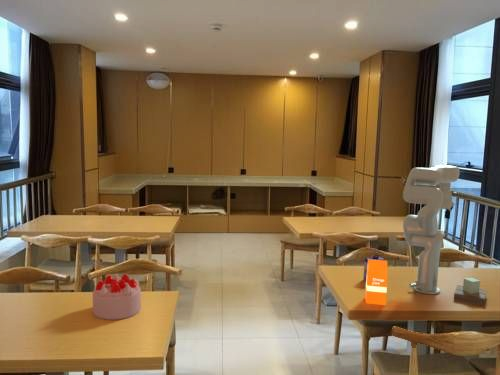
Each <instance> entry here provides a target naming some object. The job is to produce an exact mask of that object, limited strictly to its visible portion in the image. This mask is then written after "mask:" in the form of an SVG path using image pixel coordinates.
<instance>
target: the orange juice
mask: <svg viewBox="0 0 500 375" xmlns="http://www.w3.org/2000/svg"><path fill="white" fill-rule="evenodd" d="M387 288H388V260H385V261H383V260H370V259H368V265H367V276H366V280H365V304H370V305H379V306H380V305H381V306H386V303H387V293H388V292H387V291H388V289H387Z"/></svg>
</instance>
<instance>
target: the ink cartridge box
mask: <svg viewBox="0 0 500 375" xmlns="http://www.w3.org/2000/svg"><path fill="white" fill-rule="evenodd" d="M368 259H370V260H383V261H386V259H385V258H383V257H381V256H380V254H375V255H373V257H370V256H369V257H365V258H364V265H363V266H364V268H363V280H364V281H366V276H367V265H368Z"/></svg>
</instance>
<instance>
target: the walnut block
mask: <svg viewBox="0 0 500 375" xmlns="http://www.w3.org/2000/svg"><path fill="white" fill-rule="evenodd" d="M486 297H487V290H486V289H482V288H479V293H474V294H470V293H468V292H465V291H463V285H458V284H457V285H456V288H455V291H454V294H453V301H455V302H461V303H467V304H472V305H476V306H482V307H485V305H486Z"/></svg>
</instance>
